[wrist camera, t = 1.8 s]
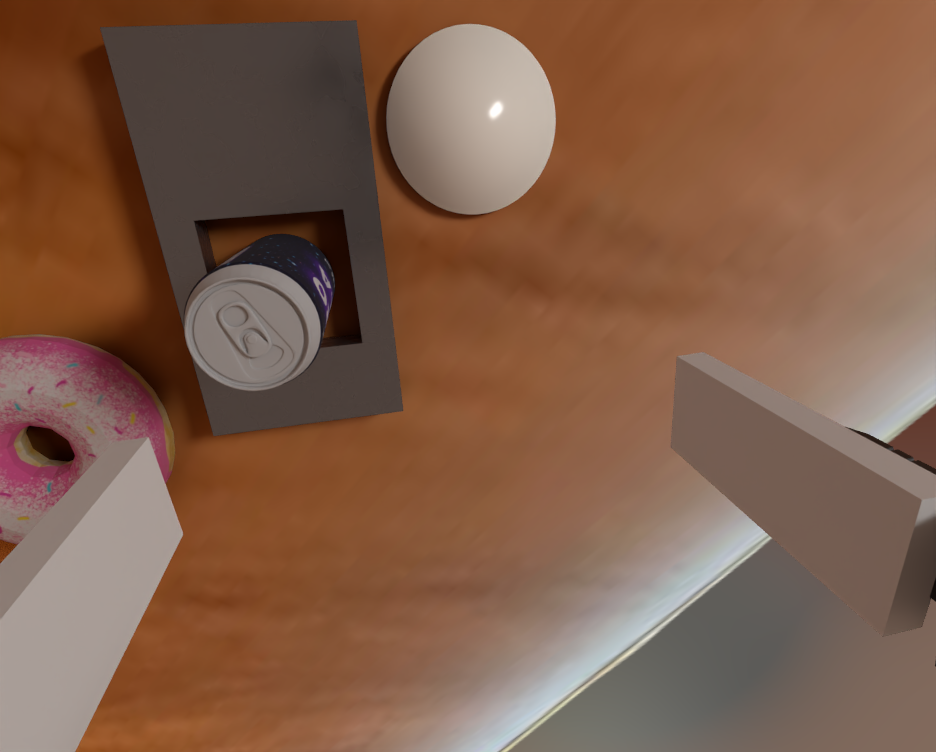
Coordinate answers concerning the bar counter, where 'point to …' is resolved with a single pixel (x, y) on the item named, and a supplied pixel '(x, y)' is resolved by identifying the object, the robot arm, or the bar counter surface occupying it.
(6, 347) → the donut
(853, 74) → the bar counter surface
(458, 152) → the coaster
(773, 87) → the bar counter surface
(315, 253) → the beverage can
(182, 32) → the grey board with hole
